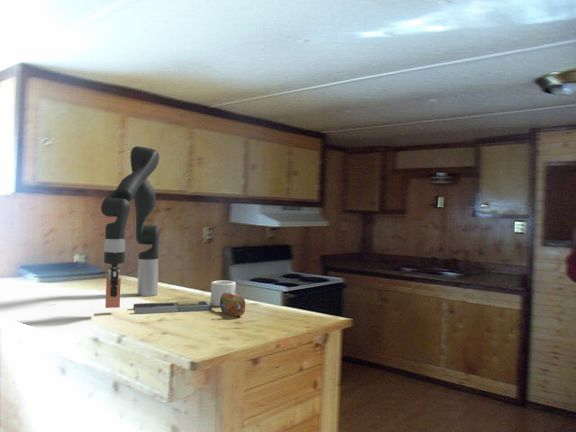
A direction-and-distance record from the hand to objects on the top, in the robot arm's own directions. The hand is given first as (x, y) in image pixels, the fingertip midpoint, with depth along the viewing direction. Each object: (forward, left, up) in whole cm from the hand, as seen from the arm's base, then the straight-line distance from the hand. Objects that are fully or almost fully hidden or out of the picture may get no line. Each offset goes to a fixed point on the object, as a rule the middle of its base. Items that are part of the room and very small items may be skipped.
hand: (113, 295), depth 186 cm
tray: (-2, +31, -8) cm, 32 cm away
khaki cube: (-2, +31, -7) cm, 31 cm away
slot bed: (-2, +16, -8) cm, 18 cm away
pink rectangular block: (0, 0, -4) cm, 4 cm away
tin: (+8, +45, -8) cm, 46 cm away
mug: (-14, +47, -8) cm, 50 cm away
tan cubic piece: (-2, +27, -7) cm, 28 cm away
